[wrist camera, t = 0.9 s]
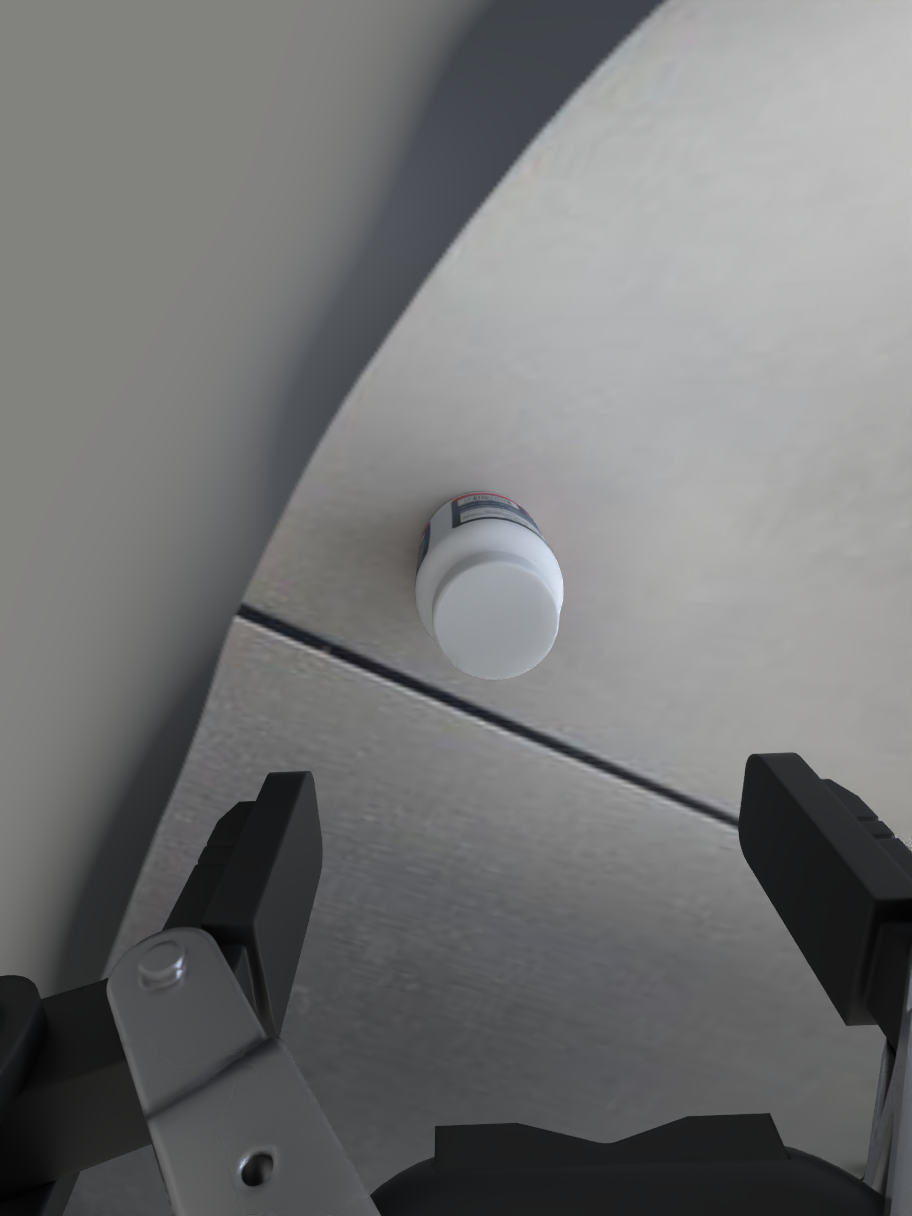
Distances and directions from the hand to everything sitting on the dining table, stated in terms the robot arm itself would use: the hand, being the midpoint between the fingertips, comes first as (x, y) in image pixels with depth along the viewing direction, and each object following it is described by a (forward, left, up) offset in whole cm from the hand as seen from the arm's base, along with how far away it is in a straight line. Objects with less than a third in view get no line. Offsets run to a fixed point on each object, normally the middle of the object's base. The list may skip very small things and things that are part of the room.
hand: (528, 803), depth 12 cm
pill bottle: (0, 0, -18) cm, 18 cm away
